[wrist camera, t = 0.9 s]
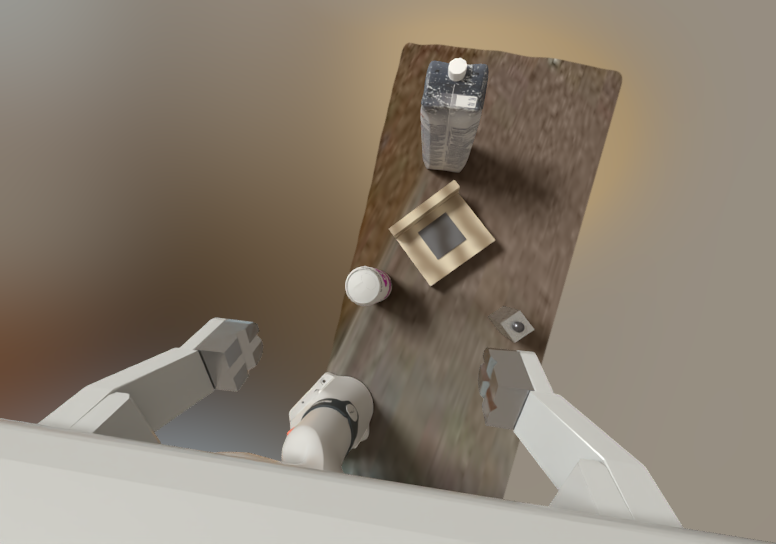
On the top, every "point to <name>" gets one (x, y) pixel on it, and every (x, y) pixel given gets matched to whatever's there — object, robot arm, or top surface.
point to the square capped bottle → (511, 323)
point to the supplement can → (368, 286)
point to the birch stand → (441, 234)
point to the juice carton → (451, 112)
